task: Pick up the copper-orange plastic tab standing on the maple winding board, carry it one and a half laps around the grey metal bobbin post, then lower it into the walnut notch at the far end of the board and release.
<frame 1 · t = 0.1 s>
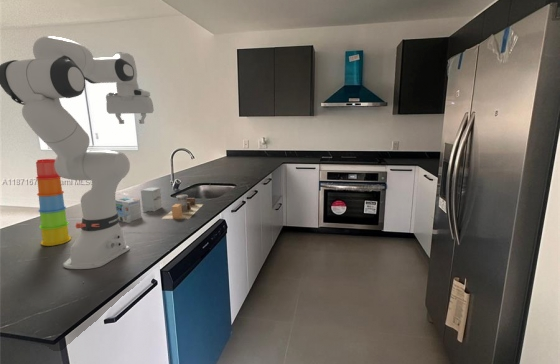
hand: (131, 123, 137), 48 cm above the worktop, fingers open, 8 cm apart
supplement box: (152, 211, 166), on the worktop
tab: (177, 216, 152), point 1 cm above the worktop, touching winding board
winding board: (184, 213, 162), on the worktop
light bulb box: (129, 220, 152), on the worktop
stacking cups: (56, 242, 126), on the worktop
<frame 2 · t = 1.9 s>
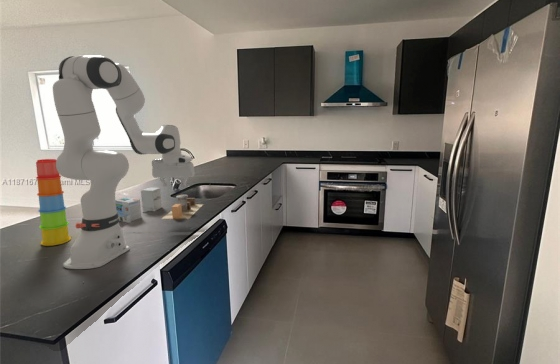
hand: (174, 186, 149), 17 cm above the worktop, fingers open, 8 cm apart
nothing on the worktop moved.
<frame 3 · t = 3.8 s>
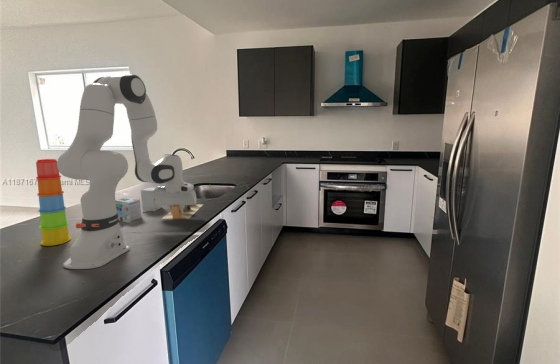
hand: (177, 213, 152), 3 cm above the worktop, fingers closed on tab, 3 cm apart
tab: (177, 216, 152), point 1 cm above the worktop, touching gripper, winding board
everything else where it was.
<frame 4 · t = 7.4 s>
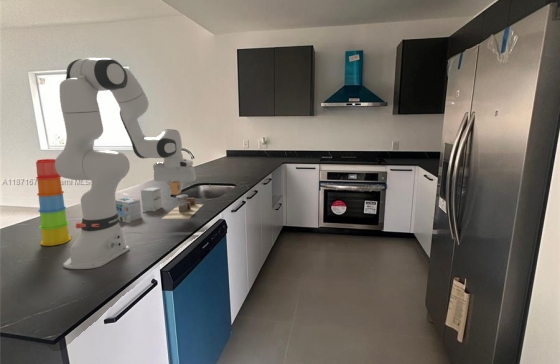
hand: (176, 189, 151), 15 cm above the worktop, fingers closed on tab, 3 cm apart
tab: (176, 193, 151), point 13 cm above the worktop, touching gripper
everything else where it was.
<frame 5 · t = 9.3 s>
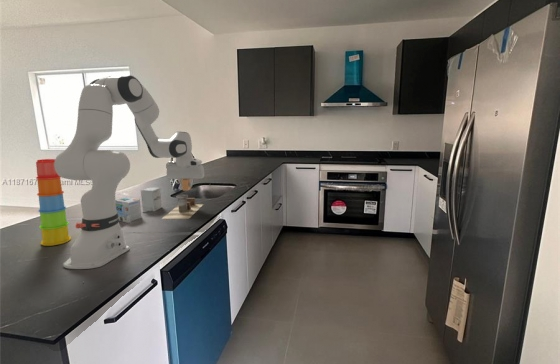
hand: (186, 186, 166), 13 cm above the worktop, fingers closed on tab, 3 cm apart
tab: (186, 189, 166), point 11 cm above the worktop, touching gripper
everything else where it was.
when the fingers open (4 cm above the worktop, at t = 11.0 s): tab drops 1 cm, resting on winding board.
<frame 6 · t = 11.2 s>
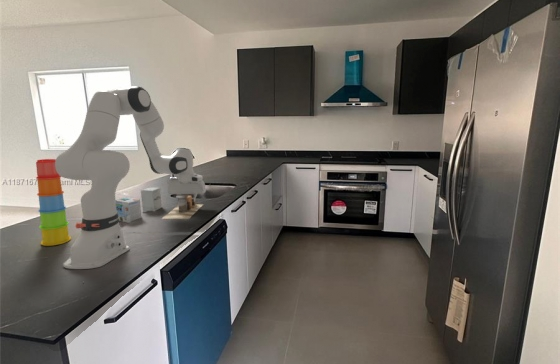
hand: (187, 201, 168), 4 cm above the worktop, fingers open, 5 cm apart
tab: (188, 207, 168), point 1 cm above the worktop, touching winding board
everything else where it was.
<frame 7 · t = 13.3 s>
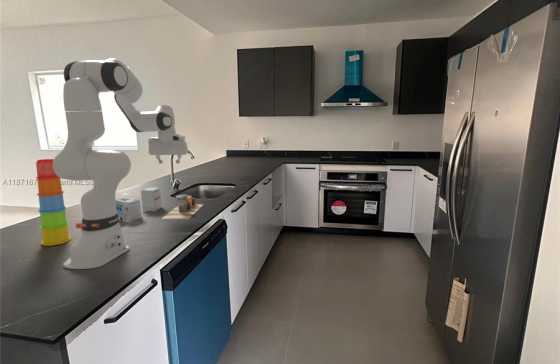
hand: (169, 163, 161), 27 cm above the worktop, fingers open, 8 cm apart
nothing on the worktop moved.
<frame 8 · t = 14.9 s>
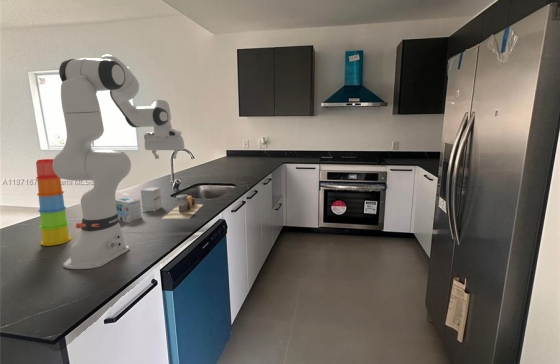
hand: (165, 158, 160), 29 cm above the worktop, fingers open, 8 cm apart
nothing on the worktop moved.
at the end: tab 0.1 cm from the target spot on the winding board, point 1.2 cm above the winding board's base; tab tilted 0°; the gripper is holding nothing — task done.
